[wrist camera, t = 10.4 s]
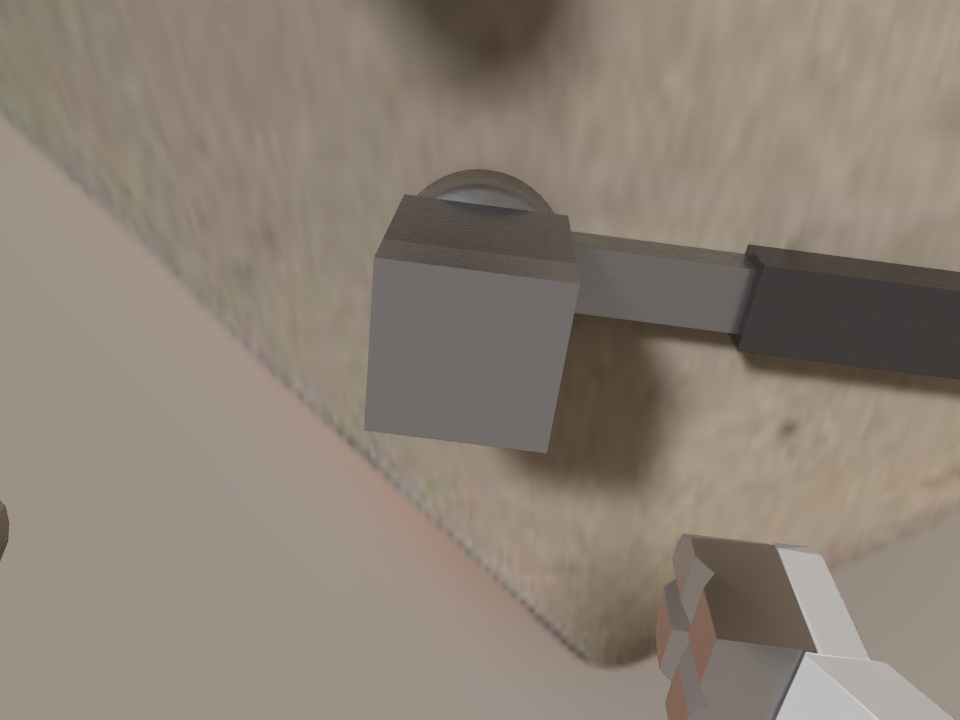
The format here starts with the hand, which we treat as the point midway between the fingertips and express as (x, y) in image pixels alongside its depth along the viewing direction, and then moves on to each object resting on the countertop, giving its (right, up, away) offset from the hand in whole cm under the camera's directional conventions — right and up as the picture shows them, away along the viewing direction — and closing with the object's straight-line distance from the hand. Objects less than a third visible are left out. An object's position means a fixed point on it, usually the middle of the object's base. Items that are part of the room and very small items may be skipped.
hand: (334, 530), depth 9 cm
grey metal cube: (+2, +5, +18) cm, 19 cm away
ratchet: (+10, +5, +21) cm, 23 cm away
